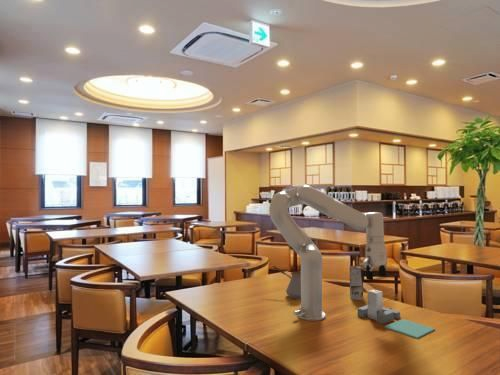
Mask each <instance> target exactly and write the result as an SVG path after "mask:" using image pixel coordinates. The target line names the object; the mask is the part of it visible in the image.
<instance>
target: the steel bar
mask: <svg viewBox="0 0 500 375" xmlns="http://www.w3.org/2000/svg"><path fill="white" fill-rule="evenodd" d="M367 305H368V316H367V318H368V319H370V320H374V321H377V314H379V313H381V312H383V307H384V306H383V291H382V290H378V289H370V290H367Z"/></svg>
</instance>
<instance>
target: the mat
mask: <svg viewBox="0 0 500 375" xmlns="http://www.w3.org/2000/svg"><path fill="white" fill-rule="evenodd" d="M383 328H384V329H386V330H389V331H392V332H396V333H398V334H402V335H405V336H408V337H410V338H414V339H416V340H417V339H420V338H422V337H424V336H426V335H427V334H430V333H432V332H434V331H435V330H436V329H435V328H434V327H430V326H427V325H424V324H420V323H418V322H414V321H411V320H408V319H405V318H401V319H399V320H396V321H394V322H392V323H390V324H386V325H384V327H383Z"/></svg>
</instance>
